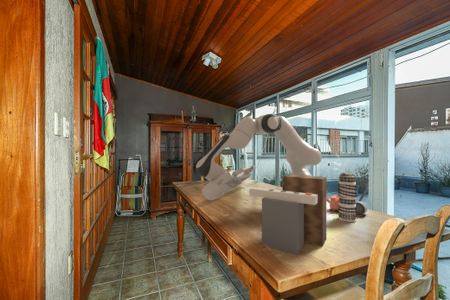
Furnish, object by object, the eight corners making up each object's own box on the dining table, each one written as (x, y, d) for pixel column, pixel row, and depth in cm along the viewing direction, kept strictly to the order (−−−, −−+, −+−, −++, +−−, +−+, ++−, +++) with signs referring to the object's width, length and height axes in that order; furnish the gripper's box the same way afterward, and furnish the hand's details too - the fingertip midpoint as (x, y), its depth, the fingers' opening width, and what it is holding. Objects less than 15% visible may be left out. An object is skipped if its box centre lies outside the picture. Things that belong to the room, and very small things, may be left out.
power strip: (249, 195, 87) (249, 187, 87) (253, 194, 90) (253, 186, 90) (315, 205, 72) (315, 195, 72) (317, 202, 75) (317, 193, 75)
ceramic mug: (368, 214, 121) (367, 200, 121) (365, 217, 115) (365, 203, 115) (347, 210, 128) (347, 198, 128) (344, 213, 122) (343, 200, 122)
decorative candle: (336, 220, 110) (336, 173, 110) (338, 215, 118) (338, 171, 118) (356, 223, 105) (356, 174, 105) (357, 218, 113) (357, 172, 113)
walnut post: (282, 236, 89) (282, 176, 89) (288, 230, 95) (288, 174, 95) (322, 246, 79) (322, 179, 80) (326, 239, 86) (326, 177, 86)
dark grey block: (261, 244, 81) (261, 198, 81) (270, 237, 88) (270, 195, 88) (297, 254, 73) (297, 203, 73) (303, 246, 80) (303, 199, 80)
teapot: (323, 208, 133) (323, 193, 133) (341, 207, 134) (341, 193, 134) (333, 213, 122) (333, 197, 122) (353, 213, 122) (353, 196, 122)
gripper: (211, 178, 92) (233, 163, 85) (236, 173, 108) (256, 160, 101) (217, 191, 90) (240, 176, 83) (241, 184, 106) (262, 171, 99)
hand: (249, 167), depth 92 cm, fingers open, 8 cm apart
